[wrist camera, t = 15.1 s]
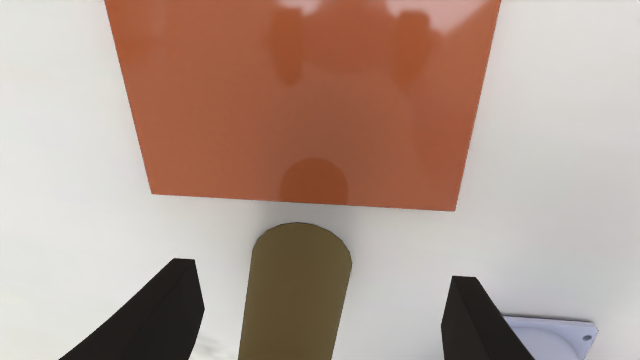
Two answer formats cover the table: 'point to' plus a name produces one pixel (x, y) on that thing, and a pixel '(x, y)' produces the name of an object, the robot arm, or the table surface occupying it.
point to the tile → (305, 96)
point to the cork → (294, 294)
